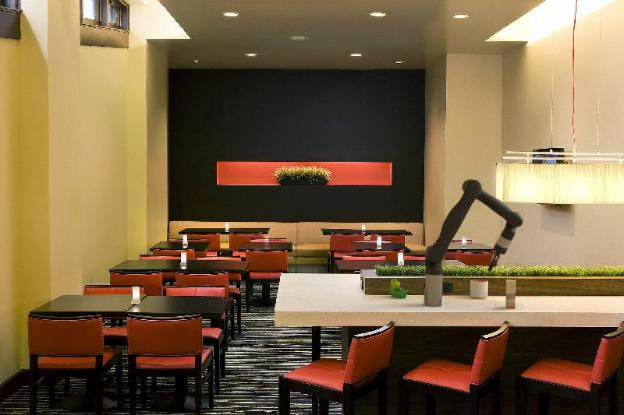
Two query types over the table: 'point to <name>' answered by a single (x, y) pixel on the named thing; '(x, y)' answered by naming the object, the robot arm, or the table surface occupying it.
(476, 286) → the cup
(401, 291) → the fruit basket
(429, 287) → the robot arm
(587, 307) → the table surface
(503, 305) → the mat
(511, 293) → the block
